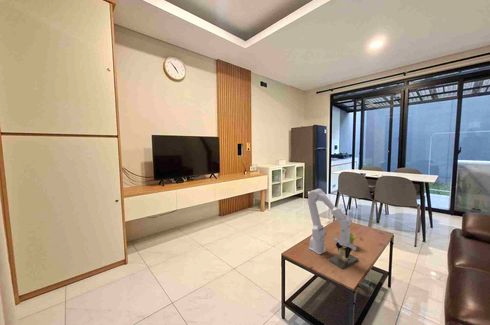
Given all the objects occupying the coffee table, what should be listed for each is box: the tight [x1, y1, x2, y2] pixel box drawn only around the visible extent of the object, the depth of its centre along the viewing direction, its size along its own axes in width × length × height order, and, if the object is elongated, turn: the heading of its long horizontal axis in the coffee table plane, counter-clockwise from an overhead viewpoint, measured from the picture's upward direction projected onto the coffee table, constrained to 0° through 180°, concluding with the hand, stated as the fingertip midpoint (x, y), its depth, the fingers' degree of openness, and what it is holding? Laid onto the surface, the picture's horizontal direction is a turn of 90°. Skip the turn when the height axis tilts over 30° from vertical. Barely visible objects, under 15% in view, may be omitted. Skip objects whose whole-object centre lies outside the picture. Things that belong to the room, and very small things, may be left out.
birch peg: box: [338, 246, 348, 262], centre depth 134 cm, size 4×4×8 cm
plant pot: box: [344, 232, 356, 248], centre depth 153 cm, size 9×9×9 cm
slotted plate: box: [328, 253, 359, 270], centre depth 134 cm, size 10×17×2 cm, turn 121°
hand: (343, 255), depth 134 cm, fingers closed on birch peg, 4 cm apart
